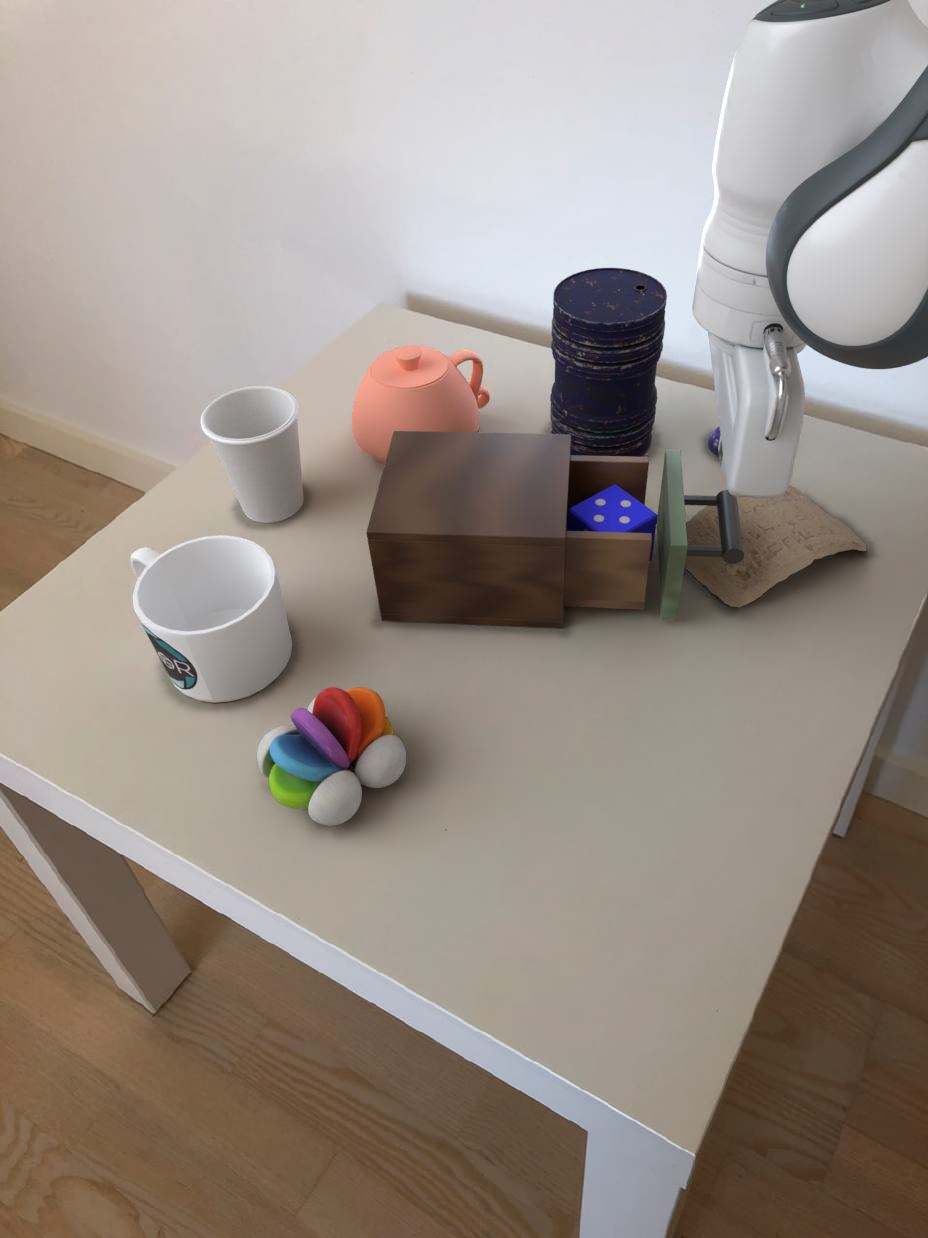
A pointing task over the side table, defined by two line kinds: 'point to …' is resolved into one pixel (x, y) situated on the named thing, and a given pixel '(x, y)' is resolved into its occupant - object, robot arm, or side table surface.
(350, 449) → the side table surface
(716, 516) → the clay tablet
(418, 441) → the cabinet
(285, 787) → the rainbow petal toy
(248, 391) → the dixie cup
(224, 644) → the mug
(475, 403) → the sugar bowl
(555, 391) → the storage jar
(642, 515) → the die
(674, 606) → the drawer
